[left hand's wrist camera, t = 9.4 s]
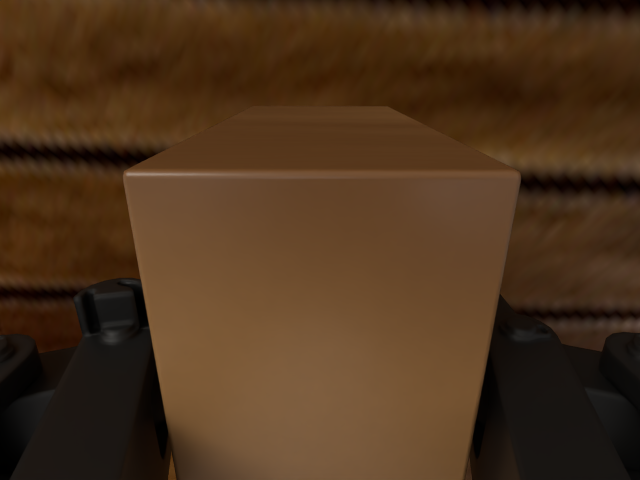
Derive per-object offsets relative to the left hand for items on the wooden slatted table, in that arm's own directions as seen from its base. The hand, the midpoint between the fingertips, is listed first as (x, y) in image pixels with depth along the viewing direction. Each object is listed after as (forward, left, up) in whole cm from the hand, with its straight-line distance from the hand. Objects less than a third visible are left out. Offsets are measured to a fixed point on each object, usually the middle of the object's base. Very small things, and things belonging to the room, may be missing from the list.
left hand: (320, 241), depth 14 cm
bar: (0, +8, -1) cm, 8 cm away
